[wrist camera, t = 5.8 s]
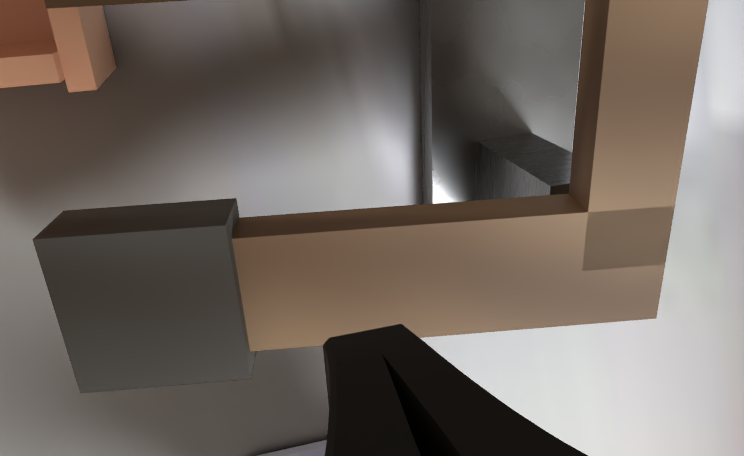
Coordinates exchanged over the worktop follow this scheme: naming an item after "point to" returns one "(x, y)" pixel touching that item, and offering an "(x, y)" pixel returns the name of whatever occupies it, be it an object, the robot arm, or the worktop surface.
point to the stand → (498, 97)
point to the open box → (54, 45)
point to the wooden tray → (394, 239)
